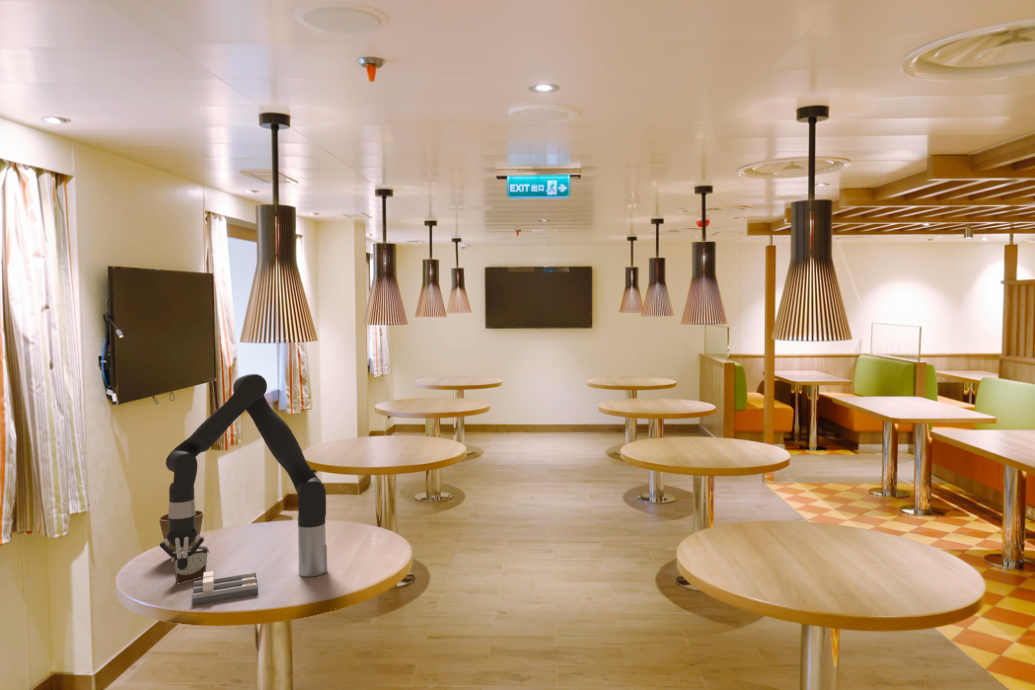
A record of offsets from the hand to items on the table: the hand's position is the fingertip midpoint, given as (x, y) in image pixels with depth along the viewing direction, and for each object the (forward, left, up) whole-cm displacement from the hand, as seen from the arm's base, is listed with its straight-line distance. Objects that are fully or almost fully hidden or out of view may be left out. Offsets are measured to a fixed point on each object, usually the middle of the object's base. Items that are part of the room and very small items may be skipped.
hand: (182, 569), depth 202 cm
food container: (0, -23, -11) cm, 25 cm away
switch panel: (-12, -3, -11) cm, 16 cm away
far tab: (-7, -5, -9) cm, 12 cm away
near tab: (-7, 0, -9) cm, 11 cm away
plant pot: (+3, -49, -11) cm, 50 cm away
